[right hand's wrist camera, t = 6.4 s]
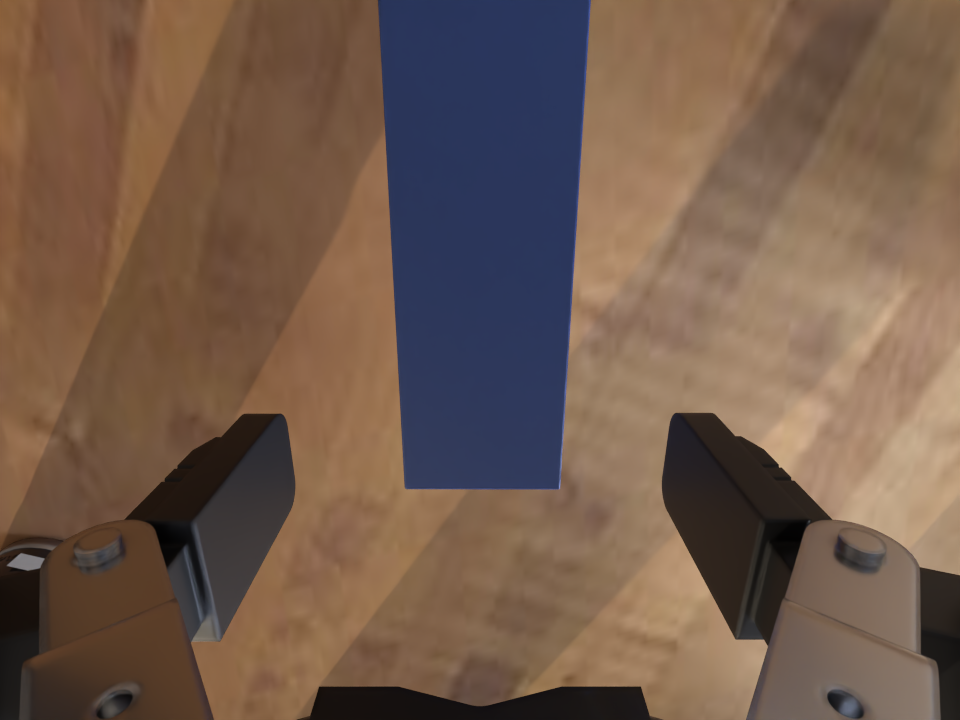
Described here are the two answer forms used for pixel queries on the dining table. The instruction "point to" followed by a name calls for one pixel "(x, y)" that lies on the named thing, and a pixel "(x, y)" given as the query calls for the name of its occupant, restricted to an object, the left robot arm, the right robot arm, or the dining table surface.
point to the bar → (483, 231)
